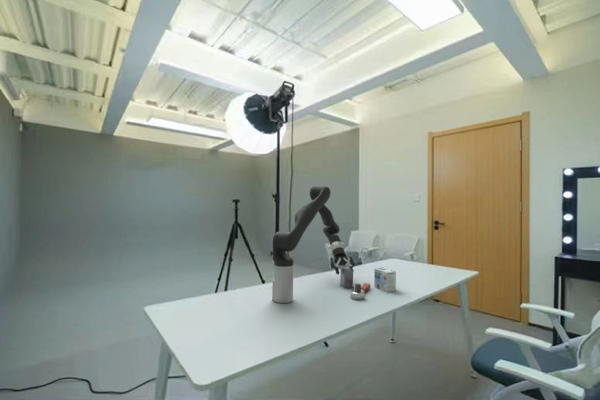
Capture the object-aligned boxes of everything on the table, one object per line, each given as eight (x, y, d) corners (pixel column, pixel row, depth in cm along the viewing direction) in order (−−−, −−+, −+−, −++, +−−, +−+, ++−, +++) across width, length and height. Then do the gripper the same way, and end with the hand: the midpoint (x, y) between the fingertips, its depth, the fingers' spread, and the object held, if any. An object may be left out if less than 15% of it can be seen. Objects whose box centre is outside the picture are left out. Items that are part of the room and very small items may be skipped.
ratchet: (362, 301, 138) (362, 286, 138) (348, 298, 142) (349, 284, 142) (373, 288, 159) (373, 276, 159) (361, 287, 162) (361, 274, 162)
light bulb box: (373, 286, 163) (374, 268, 163) (383, 285, 166) (383, 267, 166) (386, 292, 153) (387, 272, 153) (396, 290, 156) (396, 271, 156)
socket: (344, 288, 159) (344, 270, 159) (340, 285, 164) (340, 268, 164) (353, 287, 160) (353, 270, 161) (349, 285, 166) (349, 267, 166)
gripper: (328, 247, 171) (335, 270, 160) (350, 246, 175) (358, 269, 163) (325, 254, 176) (332, 277, 165) (346, 253, 180) (354, 276, 168)
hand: (345, 273), depth 164 cm, fingers open, 8 cm apart
